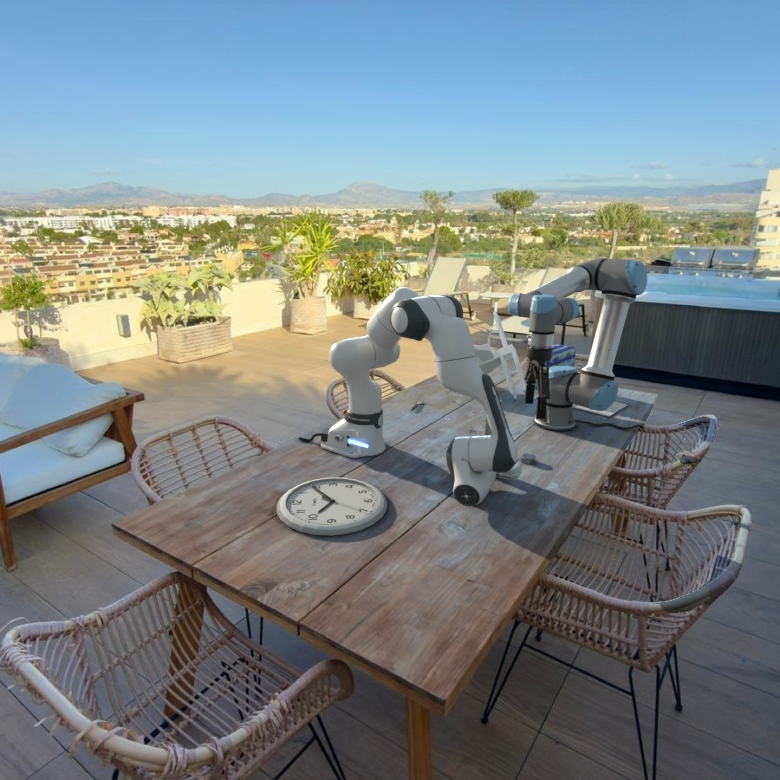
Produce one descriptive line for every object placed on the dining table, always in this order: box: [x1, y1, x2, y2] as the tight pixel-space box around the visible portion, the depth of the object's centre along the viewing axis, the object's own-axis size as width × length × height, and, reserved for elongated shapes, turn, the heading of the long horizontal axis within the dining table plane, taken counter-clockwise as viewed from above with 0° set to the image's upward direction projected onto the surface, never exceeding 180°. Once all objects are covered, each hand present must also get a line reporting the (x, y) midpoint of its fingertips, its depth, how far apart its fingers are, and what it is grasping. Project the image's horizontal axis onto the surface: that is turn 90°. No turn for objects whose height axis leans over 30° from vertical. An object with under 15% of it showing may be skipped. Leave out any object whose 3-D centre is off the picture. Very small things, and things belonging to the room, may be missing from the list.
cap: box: [520, 452, 536, 465], centre depth 172 cm, size 4×4×2 cm
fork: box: [410, 395, 425, 412], centre depth 222 cm, size 3×16×2 cm, turn 160°
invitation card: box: [573, 401, 629, 418], centre depth 226 cm, size 21×1×15 cm
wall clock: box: [276, 476, 388, 537], centre depth 142 cm, size 30×2×30 cm
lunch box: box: [532, 344, 577, 392], centre depth 247 cm, size 26×11×21 cm, turn 134°
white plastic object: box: [474, 310, 527, 400], centre depth 245 cm, size 37×45×31 cm
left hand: (492, 453), depth 162 cm, fingers closed on bottle, 5 cm apart
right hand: (534, 410), depth 167 cm, fingers open, 13 cm apart
